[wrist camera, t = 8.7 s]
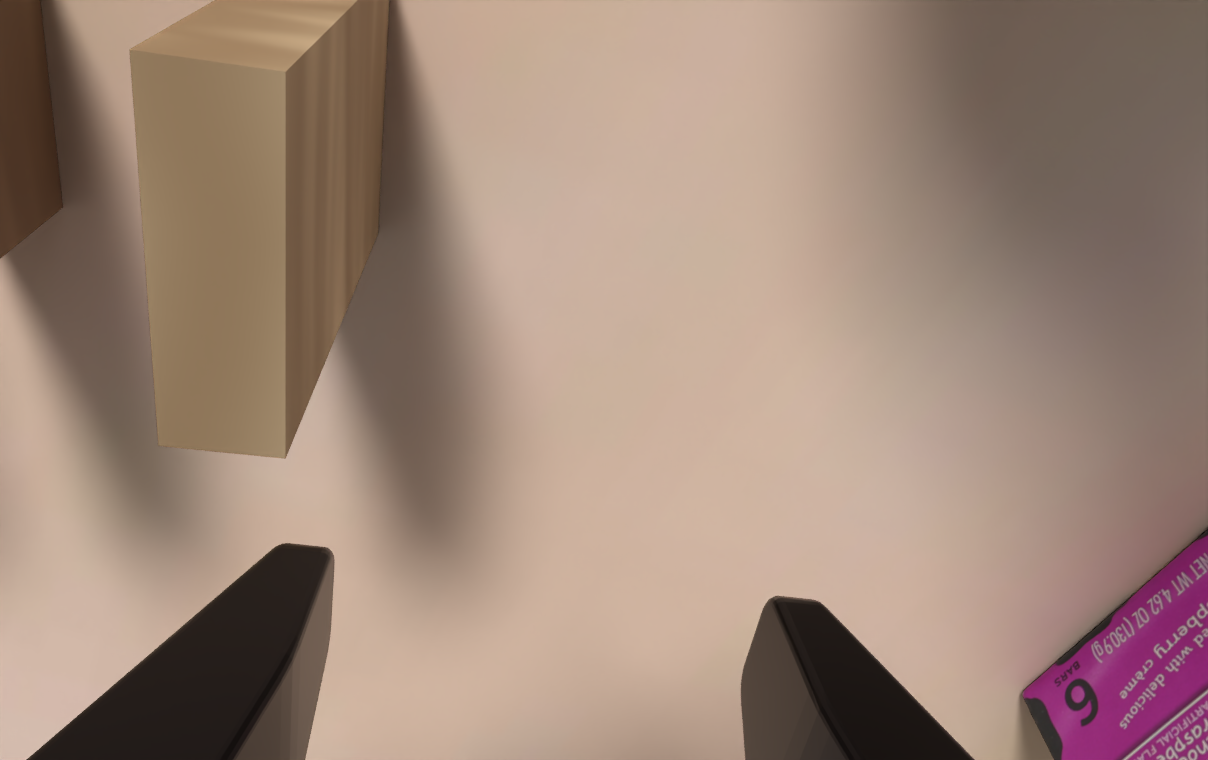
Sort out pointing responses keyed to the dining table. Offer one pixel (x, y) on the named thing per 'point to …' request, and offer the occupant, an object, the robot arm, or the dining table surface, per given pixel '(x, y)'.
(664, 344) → the dining table surface
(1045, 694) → the candy bar box
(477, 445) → the dining table surface
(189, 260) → the domino
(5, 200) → the domino
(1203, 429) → the dining table surface
